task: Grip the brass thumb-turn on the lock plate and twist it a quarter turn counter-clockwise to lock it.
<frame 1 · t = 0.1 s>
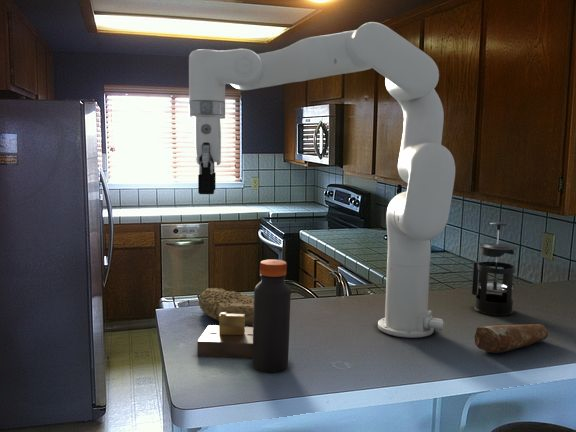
hand: (207, 192, 120), 31 cm above the counter, tool pointing down, fingers open, 9 cm apart
bottle: (270, 366, 106), on the counter
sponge: (231, 321, 133), on the counter
lock plate: (232, 348, 115), on the counter
thumbturn: (232, 323, 114), point 5 cm above the counter, hinge at 0.0°
french press: (491, 310, 145), on the counter
bread: (511, 347, 118), on the counter
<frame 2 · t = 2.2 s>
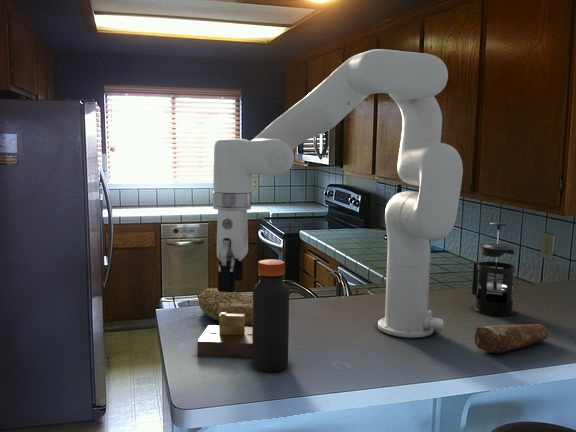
hand: (230, 285, 113), 13 cm above the counter, tool pointing down, fingers open, 9 cm apart
nothing on the counter moved.
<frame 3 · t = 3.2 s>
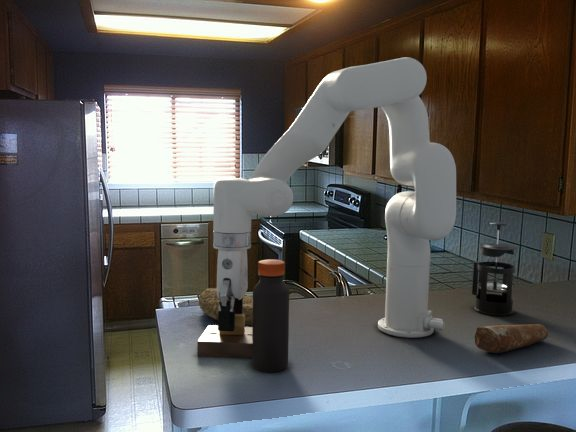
hand: (230, 323, 114), 5 cm above the counter, tool pointing down, fingers open, 9 cm apart
nothing on the counter moved.
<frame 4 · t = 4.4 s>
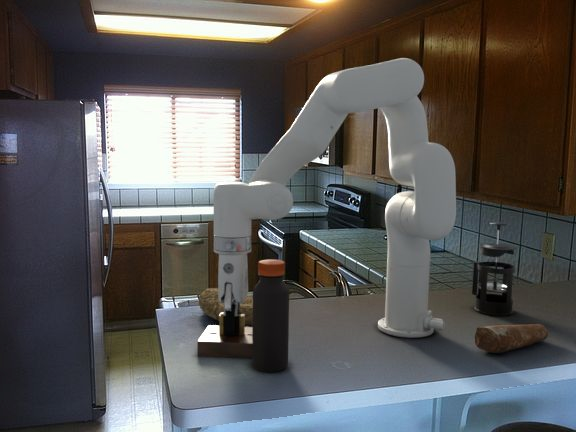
hand: (232, 332, 114), 3 cm above the counter, tool pointing down, fingers closed on thumbturn
thumbturn: (232, 323, 114), point 5 cm above the counter, hinge at 1.5°, touching gripper
everything else where it was.
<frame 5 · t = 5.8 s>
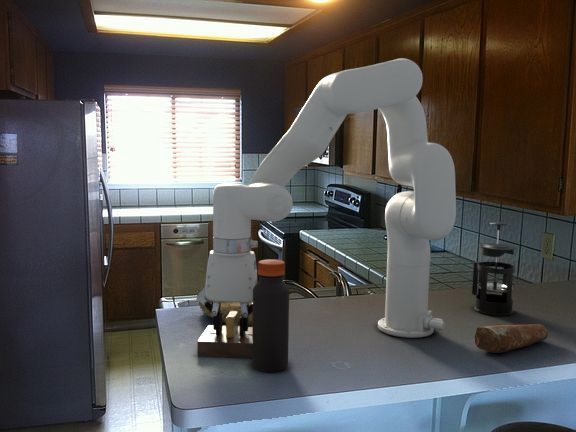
hand: (230, 332, 114), 3 cm above the counter, tool pointing down, fingers open, 4 cm apart
thumbturn: (232, 323, 114), point 5 cm above the counter, hinge at 89.6°
everything else where it was.
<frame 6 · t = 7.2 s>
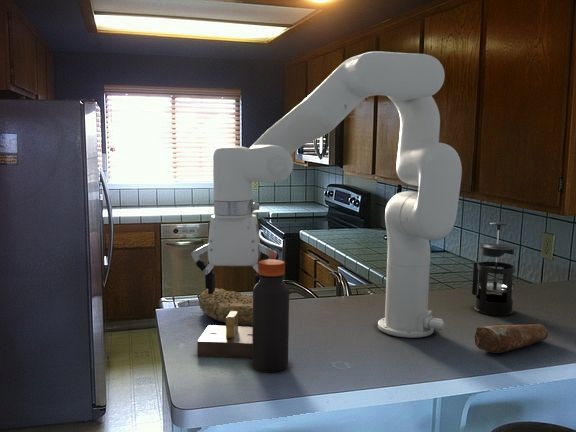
hand: (235, 292, 113), 12 cm above the counter, tool pointing down, fingers open, 9 cm apart
nothing on the counter moved.
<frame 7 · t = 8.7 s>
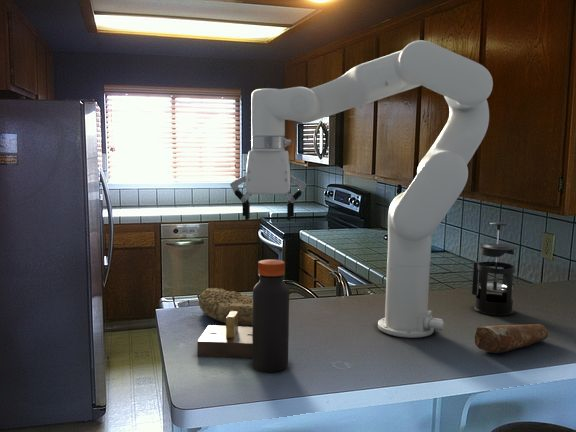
hand: (268, 219, 129), 24 cm above the counter, tool pointing down, fingers open, 9 cm apart
nothing on the counter moved.
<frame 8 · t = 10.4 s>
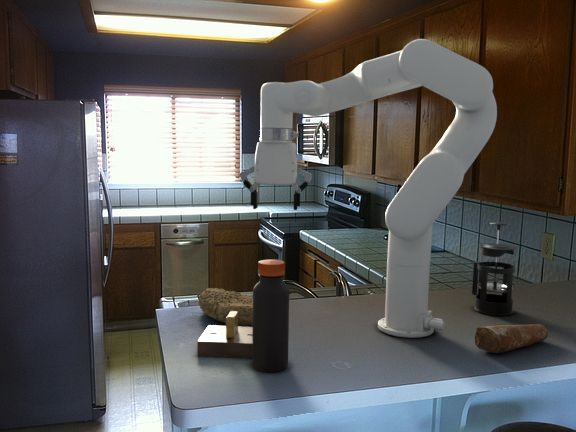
hand: (275, 208, 134), 26 cm above the counter, tool pointing down, fingers open, 9 cm apart
nothing on the counter moved.
at the end: thumbturn at +90° (first picture: +0°); bottle moved 1.3 cm from its start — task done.
